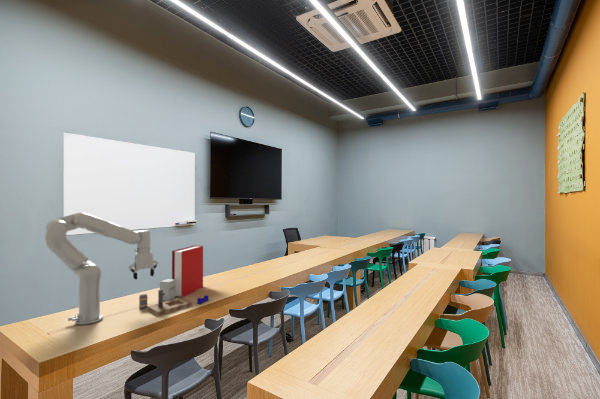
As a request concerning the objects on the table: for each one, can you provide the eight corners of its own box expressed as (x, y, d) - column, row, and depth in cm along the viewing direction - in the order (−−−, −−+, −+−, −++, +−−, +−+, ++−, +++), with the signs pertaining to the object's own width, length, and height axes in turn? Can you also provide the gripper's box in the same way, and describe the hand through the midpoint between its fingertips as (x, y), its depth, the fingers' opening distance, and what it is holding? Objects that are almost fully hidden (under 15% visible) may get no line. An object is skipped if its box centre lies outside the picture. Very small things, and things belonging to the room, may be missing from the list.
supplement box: (169, 301, 200) (169, 282, 200) (159, 300, 201) (159, 281, 201) (175, 297, 207) (175, 279, 207) (166, 296, 208) (166, 278, 208)
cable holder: (204, 300, 201) (204, 294, 201) (208, 301, 200) (208, 295, 200) (195, 304, 194) (195, 298, 194) (199, 305, 192) (199, 298, 192)
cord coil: (140, 310, 183) (140, 296, 183) (137, 308, 186) (137, 295, 186) (148, 307, 187) (148, 295, 187) (145, 306, 190) (145, 293, 190)
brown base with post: (156, 316, 173) (157, 294, 173) (147, 310, 183) (147, 289, 183) (192, 306, 190) (192, 286, 190) (181, 301, 199) (181, 282, 199)
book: (181, 297, 206) (182, 251, 206) (171, 296, 208) (172, 250, 208) (204, 286, 233) (204, 245, 233) (194, 285, 235) (195, 245, 235)
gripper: (130, 252, 178) (131, 281, 178) (160, 249, 191) (160, 275, 191) (126, 251, 183) (126, 279, 183) (155, 247, 196) (155, 273, 196)
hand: (143, 277), depth 187 cm, fingers open, 9 cm apart
